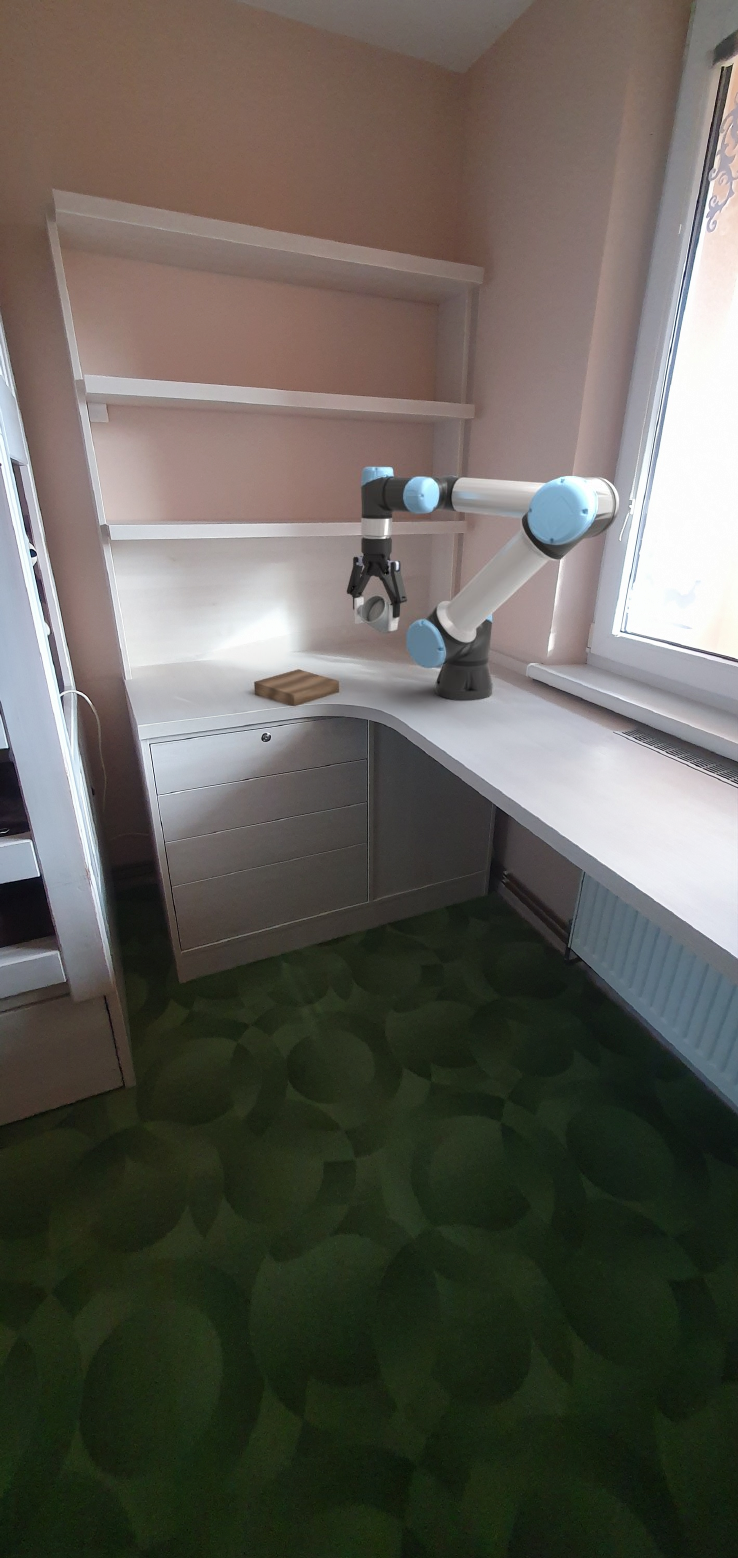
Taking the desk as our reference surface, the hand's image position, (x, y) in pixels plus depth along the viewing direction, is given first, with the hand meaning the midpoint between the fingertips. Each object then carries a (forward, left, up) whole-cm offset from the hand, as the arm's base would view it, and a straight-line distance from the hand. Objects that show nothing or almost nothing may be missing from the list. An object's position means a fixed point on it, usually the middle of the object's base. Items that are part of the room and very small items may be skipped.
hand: (375, 626), depth 168 cm
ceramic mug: (0, 0, -2) cm, 2 cm away
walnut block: (+15, +15, -19) cm, 28 cm away
